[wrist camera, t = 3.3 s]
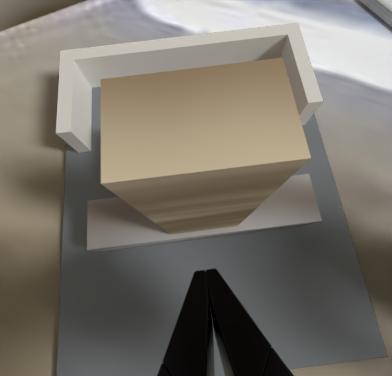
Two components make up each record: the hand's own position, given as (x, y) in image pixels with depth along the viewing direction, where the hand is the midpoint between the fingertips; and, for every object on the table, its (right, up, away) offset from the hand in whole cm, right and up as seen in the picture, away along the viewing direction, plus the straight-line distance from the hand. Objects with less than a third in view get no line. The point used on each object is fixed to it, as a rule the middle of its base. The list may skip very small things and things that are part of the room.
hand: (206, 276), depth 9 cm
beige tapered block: (0, +1, +8) cm, 8 cm away
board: (0, +3, +9) cm, 10 cm away
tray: (-1, +10, +10) cm, 15 cm away
